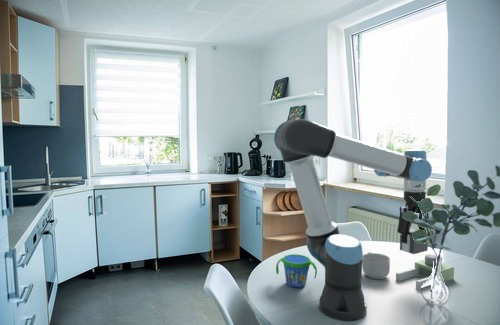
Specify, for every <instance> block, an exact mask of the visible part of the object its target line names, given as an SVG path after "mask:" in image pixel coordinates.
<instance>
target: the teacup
mask: <svg viewBox="0 0 500 325" xmlns="http://www.w3.org/2000/svg"><path fill="white" fill-rule="evenodd" d="M390 260H391V258H390V256H388V255H386V254H381V253H373V252H371V251H369V252H367V253H366V254H363V258H362V273H363V274H364V275H366V276H367V277H369V279H373V280H382V279H385V278H386V277H387V276H388V275H389V274H390V270H391V269H390V268H391V267H390V263H391V262H390Z"/></svg>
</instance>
